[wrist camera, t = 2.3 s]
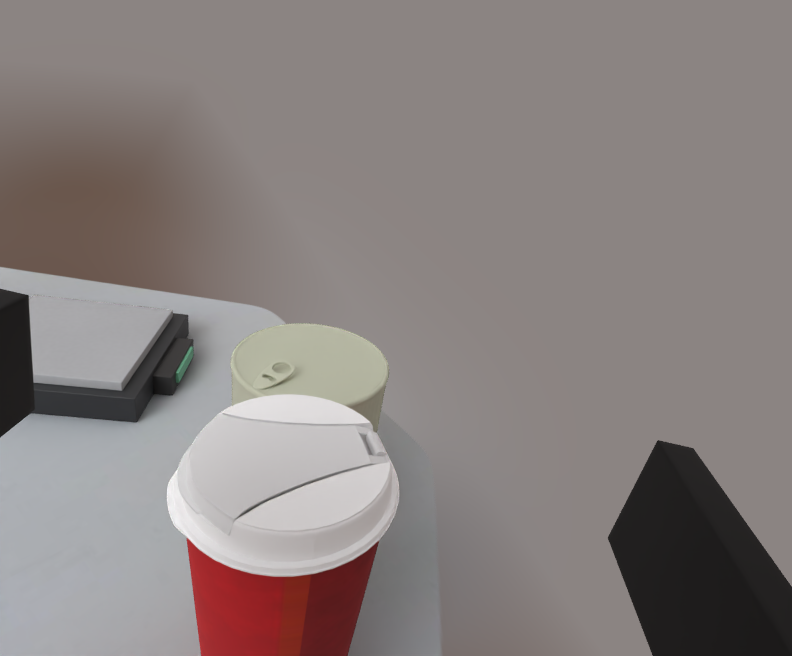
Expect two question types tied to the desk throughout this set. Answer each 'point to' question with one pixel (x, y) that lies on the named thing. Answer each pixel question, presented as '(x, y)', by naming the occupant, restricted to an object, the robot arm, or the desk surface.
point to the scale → (104, 356)
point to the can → (311, 367)
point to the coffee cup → (282, 524)
